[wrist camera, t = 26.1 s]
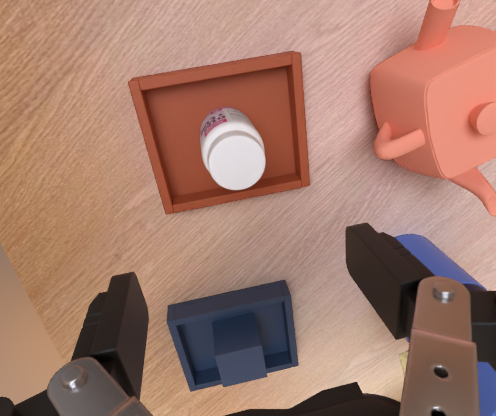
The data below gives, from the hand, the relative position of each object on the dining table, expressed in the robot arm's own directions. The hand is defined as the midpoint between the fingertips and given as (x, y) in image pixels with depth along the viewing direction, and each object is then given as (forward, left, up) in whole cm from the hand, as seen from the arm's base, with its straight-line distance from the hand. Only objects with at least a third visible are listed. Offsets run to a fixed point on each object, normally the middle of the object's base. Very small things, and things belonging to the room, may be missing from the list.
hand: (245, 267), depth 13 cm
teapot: (+19, 0, -21) cm, 29 cm away
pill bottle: (+1, 0, -21) cm, 21 cm away
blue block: (-2, -24, -20) cm, 32 cm away
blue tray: (-2, -24, -21) cm, 32 cm away
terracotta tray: (+1, 0, -21) cm, 21 cm away
